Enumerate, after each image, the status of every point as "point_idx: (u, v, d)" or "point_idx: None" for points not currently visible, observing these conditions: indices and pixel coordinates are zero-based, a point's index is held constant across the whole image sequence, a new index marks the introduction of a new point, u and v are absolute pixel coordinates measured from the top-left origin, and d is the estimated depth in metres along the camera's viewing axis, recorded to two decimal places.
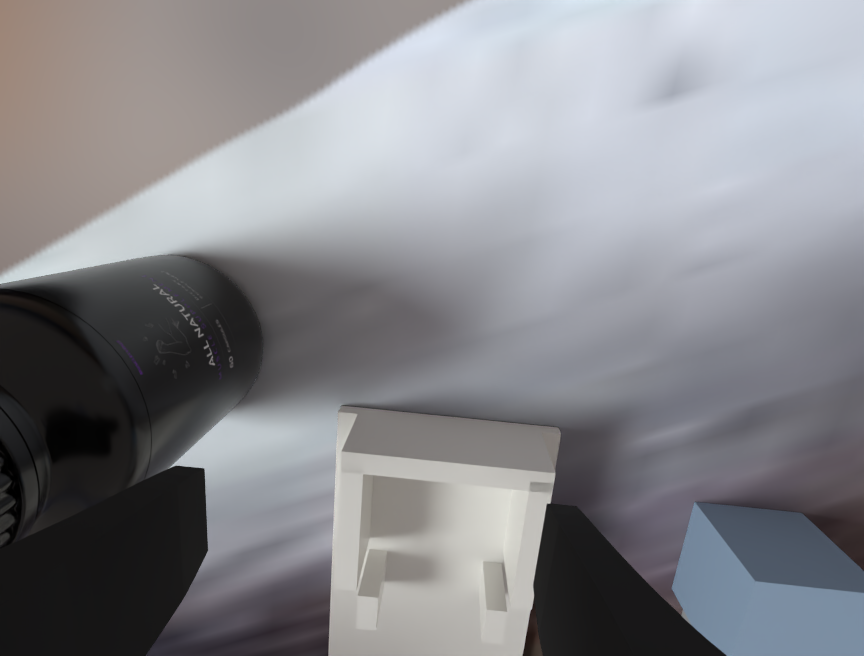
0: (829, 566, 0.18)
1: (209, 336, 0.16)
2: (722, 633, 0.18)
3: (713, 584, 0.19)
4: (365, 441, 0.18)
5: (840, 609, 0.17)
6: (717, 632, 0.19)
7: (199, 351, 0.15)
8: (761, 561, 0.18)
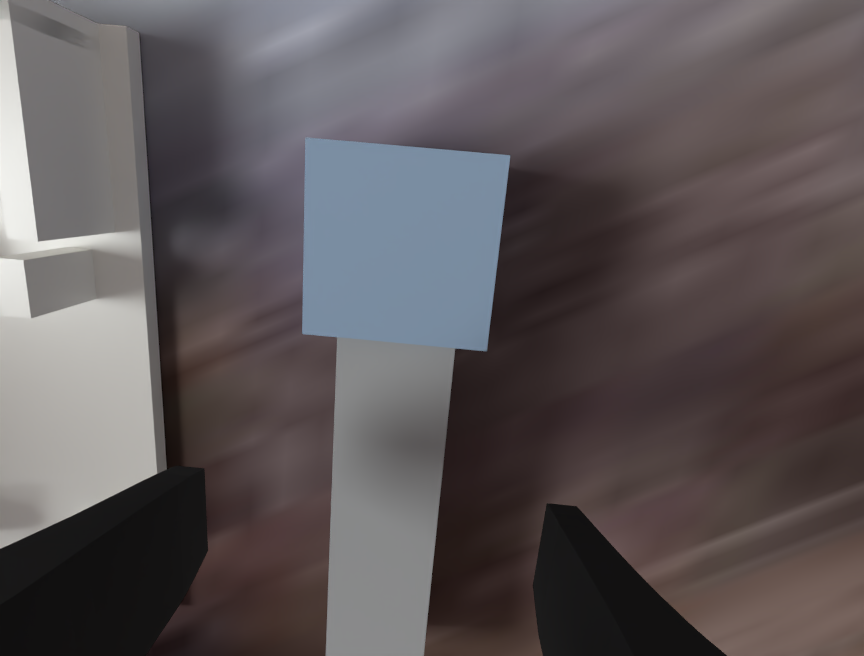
0: None
1: None
2: None
3: None
4: None
5: (441, 185, 0.11)
6: None
7: None
8: None
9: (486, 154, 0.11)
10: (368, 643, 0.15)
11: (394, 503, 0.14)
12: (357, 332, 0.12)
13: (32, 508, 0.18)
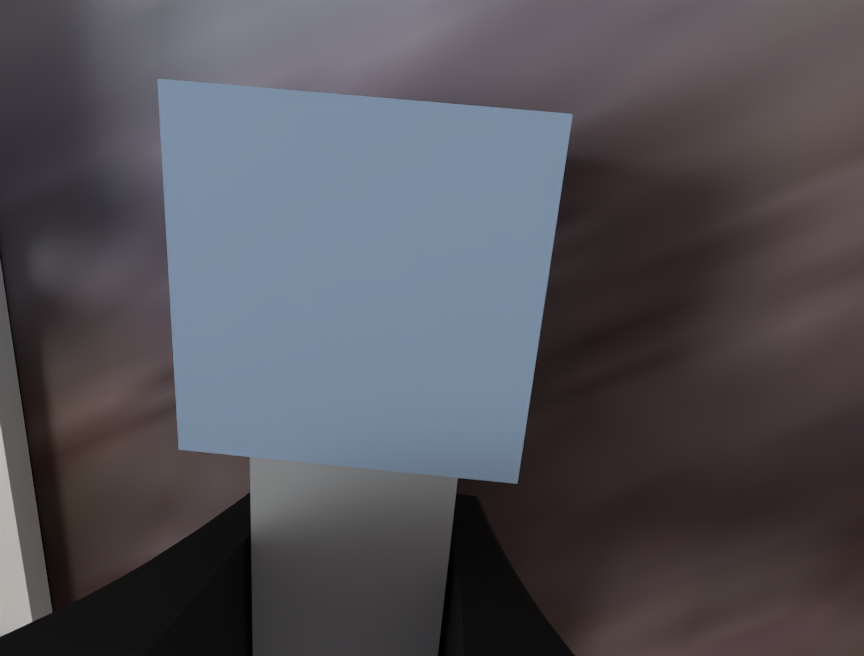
0: None
1: None
2: None
3: None
4: None
5: (433, 176, 0.06)
6: None
7: None
8: None
9: (524, 112, 0.05)
10: None
11: None
12: (279, 448, 0.07)
13: None
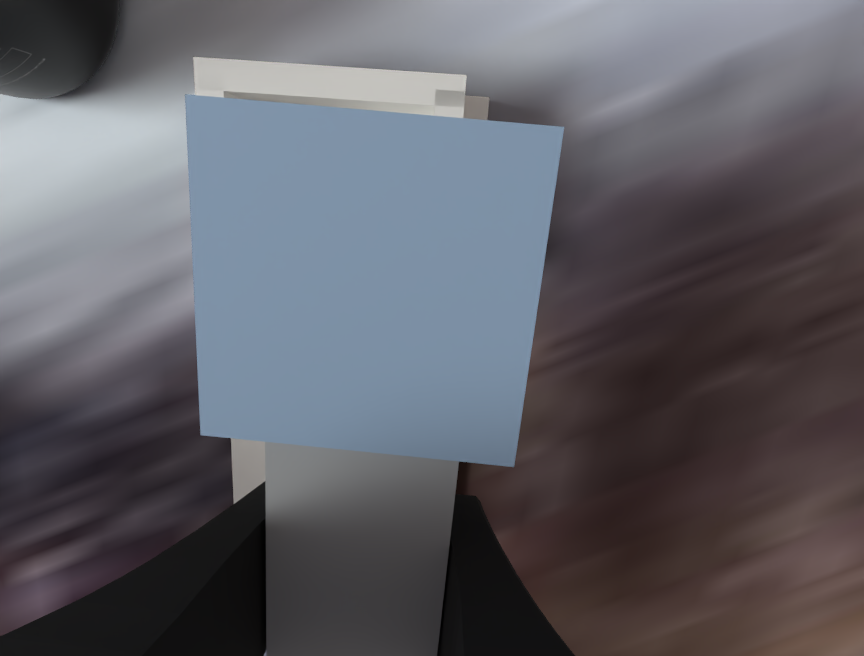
0: None
1: None
2: None
3: None
4: None
5: (436, 183, 0.06)
6: None
7: None
8: None
9: (519, 125, 0.06)
10: None
11: None
12: (293, 433, 0.07)
13: None
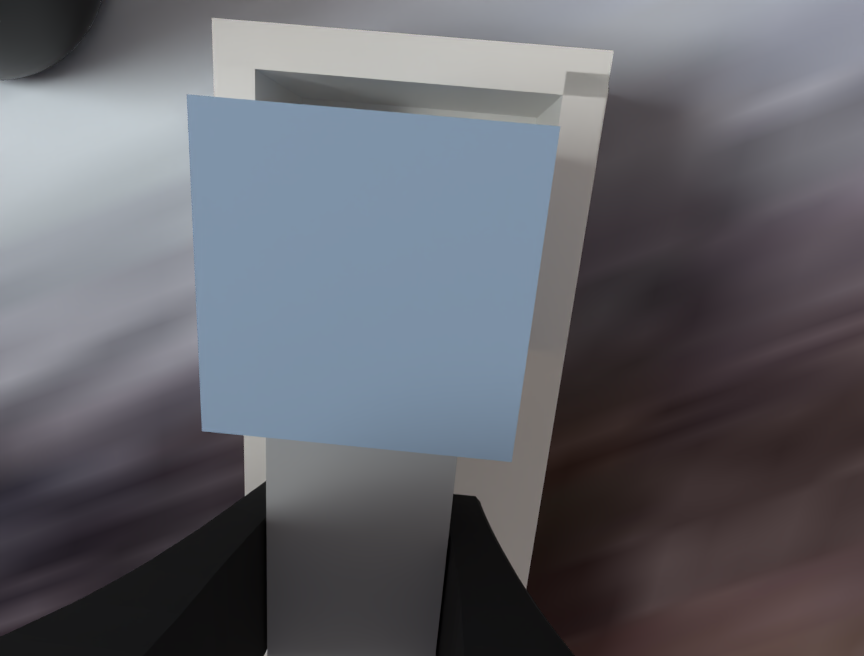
0: None
1: None
2: None
3: None
4: None
5: (434, 181, 0.06)
6: None
7: None
8: None
9: (516, 125, 0.06)
10: None
11: None
12: (294, 429, 0.07)
13: None
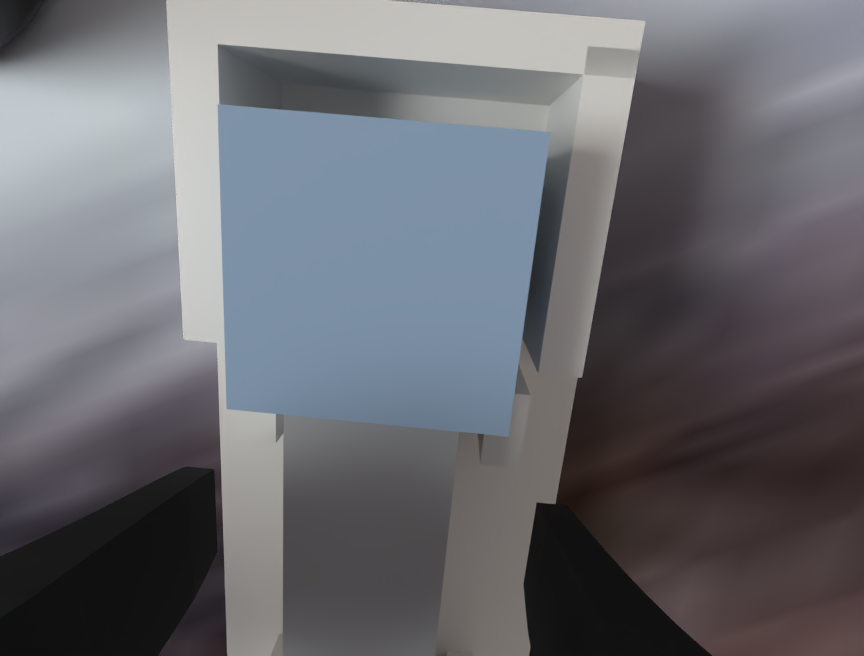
0: None
1: None
2: None
3: None
4: None
5: (438, 181, 0.07)
6: None
7: None
8: None
9: (511, 131, 0.07)
10: None
11: (373, 637, 0.10)
12: (310, 407, 0.08)
13: None
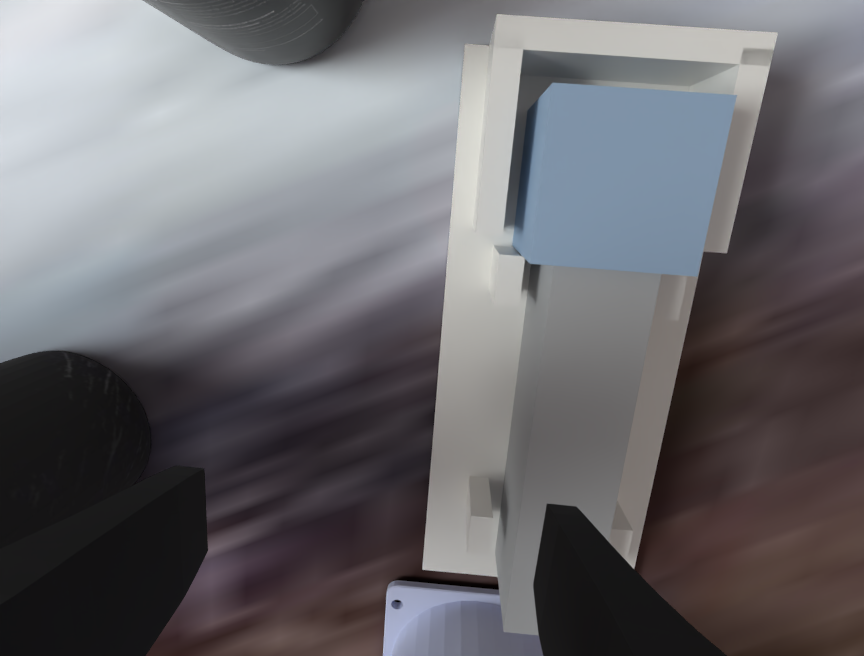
0: None
1: None
2: (533, 206, 0.14)
3: (531, 167, 0.15)
4: None
5: (671, 124, 0.12)
6: (530, 214, 0.14)
7: None
8: None
9: (714, 94, 0.12)
10: None
11: (590, 424, 0.15)
12: (580, 261, 0.13)
13: None
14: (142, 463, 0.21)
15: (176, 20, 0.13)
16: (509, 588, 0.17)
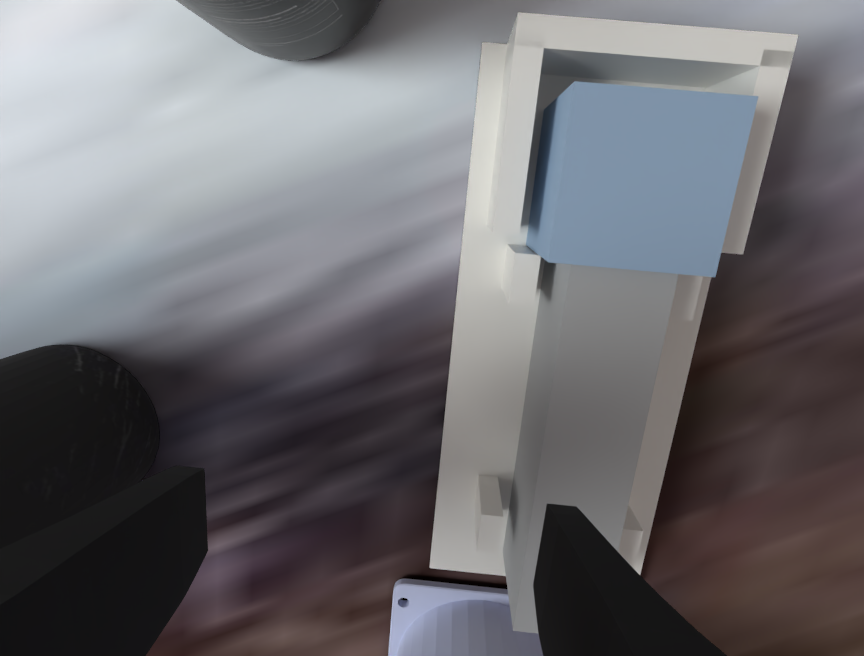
0: None
1: None
2: (551, 205, 0.14)
3: (549, 166, 0.15)
4: None
5: (693, 124, 0.12)
6: (548, 213, 0.14)
7: None
8: None
9: (736, 95, 0.12)
10: None
11: (604, 423, 0.15)
12: (598, 260, 0.13)
13: None
14: (150, 458, 0.21)
15: (197, 14, 0.13)
16: (519, 587, 0.17)
